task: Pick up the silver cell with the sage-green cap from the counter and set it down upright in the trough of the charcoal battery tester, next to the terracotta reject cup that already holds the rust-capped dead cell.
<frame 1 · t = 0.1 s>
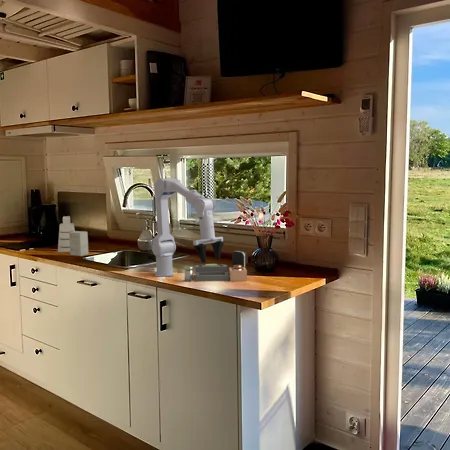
hand: (210, 260, 201), 10 cm above the countertop, tool pointing down, fingers open, 7 cm apart
tester: (212, 280, 213), on the countertop
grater: (67, 250, 292), on the countertop
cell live: (188, 280, 212), on the countertop
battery: (240, 276, 220), on the countertop
small box: (79, 255, 277), on the countertop
reject cup: (237, 280, 212), on the countertop
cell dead: (237, 279, 212), point 1 cm above the countertop, touching reject cup
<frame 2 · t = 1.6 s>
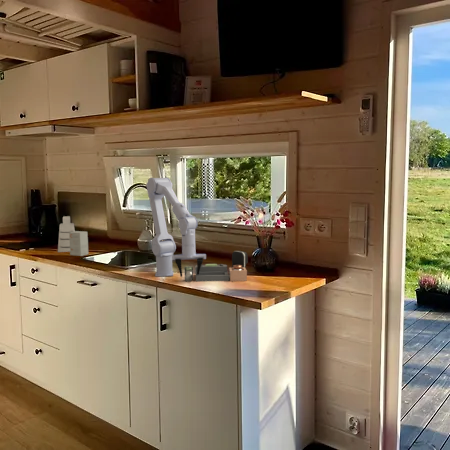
hand: (189, 275, 212), 2 cm above the countertop, tool pointing down, fingers open, 6 cm apart
nothing on the countertop moved.
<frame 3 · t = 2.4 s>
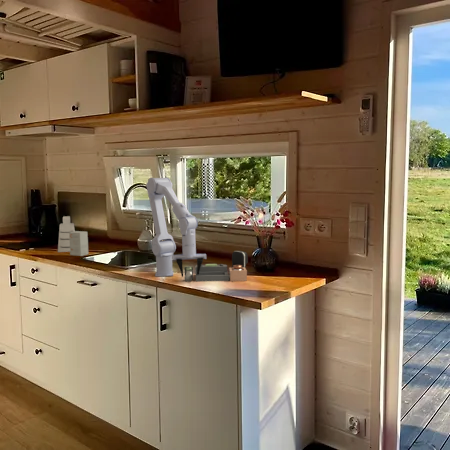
hand: (190, 275, 212), 2 cm above the countertop, tool pointing down, fingers open, 6 cm apart
nothing on the countertop moved.
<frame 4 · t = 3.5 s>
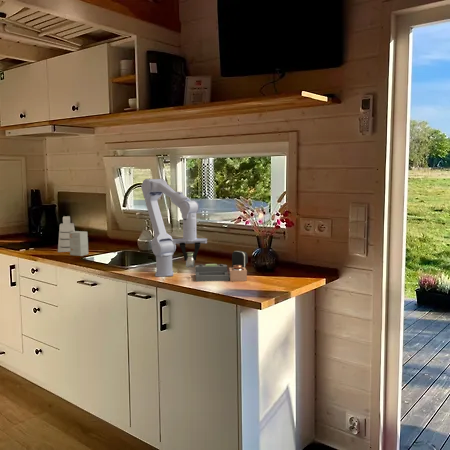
hand: (190, 260, 211), 9 cm above the countertop, tool pointing down, fingers closed on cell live, 4 cm apart
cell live: (190, 266, 212), point 6 cm above the countertop, touching gripper
everything else where it was.
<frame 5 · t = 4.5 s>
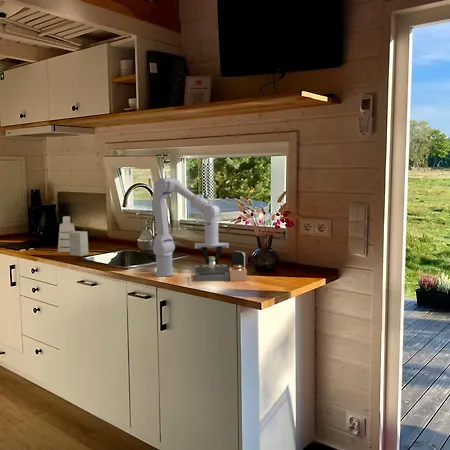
hand: (211, 264, 212), 7 cm above the countertop, tool pointing down, fingers closed on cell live, 4 cm apart
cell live: (212, 270, 213), point 4 cm above the countertop, touching gripper
everything else where it was.
when the fingers open (4 cm above the countertop, at t = 5.8 s): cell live stays where it is, resting on tester.
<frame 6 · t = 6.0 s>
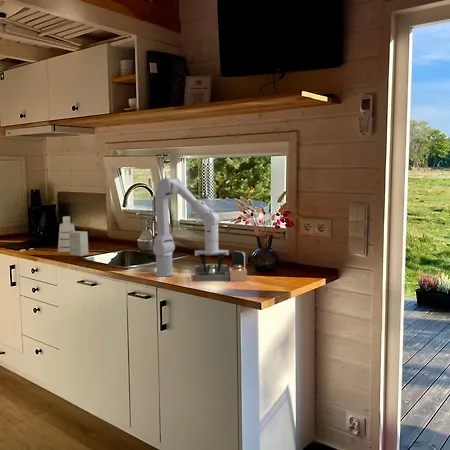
hand: (211, 271, 213), 4 cm above the countertop, tool pointing down, fingers open, 5 cm apart
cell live: (211, 278, 213), point 1 cm above the countertop, touching tester
everything else where it was.
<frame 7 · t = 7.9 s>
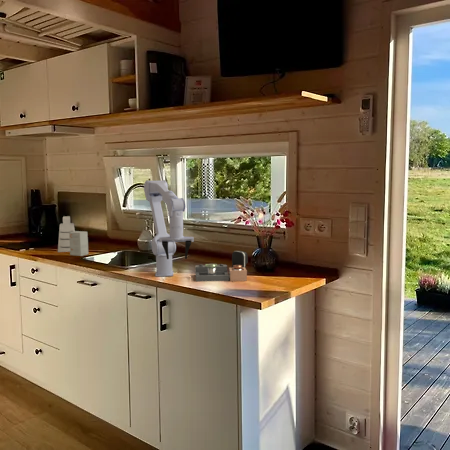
hand: (176, 258, 210), 10 cm above the countertop, tool pointing down, fingers open, 7 cm apart
nothing on the countertop moved.
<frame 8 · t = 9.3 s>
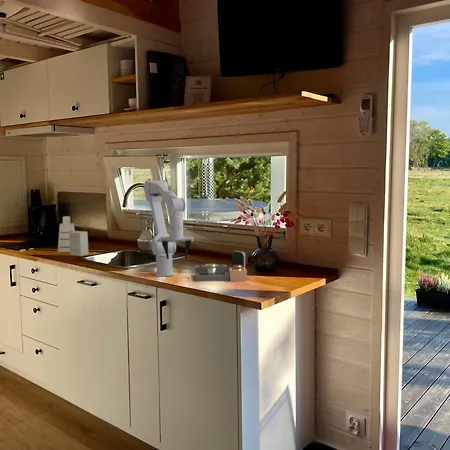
hand: (176, 258, 210), 10 cm above the countertop, tool pointing down, fingers open, 7 cm apart
nothing on the countertop moved.
at the end: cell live inside the target area on the tester (0.1 cm from its centre), point 0.8 cm above the tester's base; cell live tilted 0°; the gripper is holding nothing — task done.
